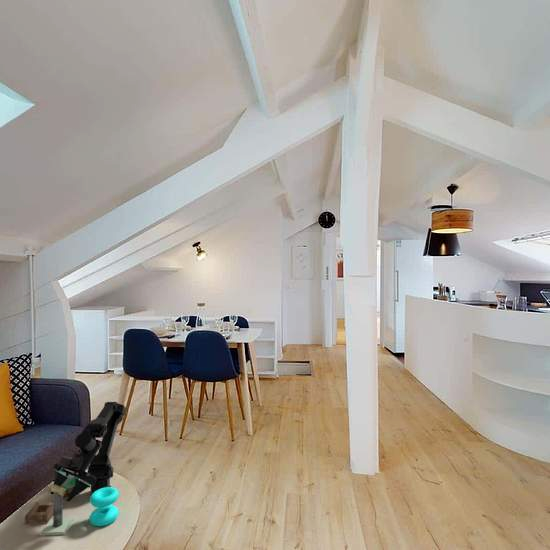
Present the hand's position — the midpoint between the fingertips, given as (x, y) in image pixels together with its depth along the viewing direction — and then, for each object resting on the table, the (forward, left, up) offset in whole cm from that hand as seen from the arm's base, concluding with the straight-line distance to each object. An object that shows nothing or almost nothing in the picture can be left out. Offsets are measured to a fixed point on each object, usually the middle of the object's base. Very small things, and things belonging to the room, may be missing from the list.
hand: (59, 497), depth 141 cm
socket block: (+9, -6, -10) cm, 15 cm away
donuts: (-15, -3, -11) cm, 19 cm away
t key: (0, +1, -9) cm, 9 cm away
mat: (0, +1, -10) cm, 10 cm away
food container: (+5, -22, -11) cm, 25 cm away
